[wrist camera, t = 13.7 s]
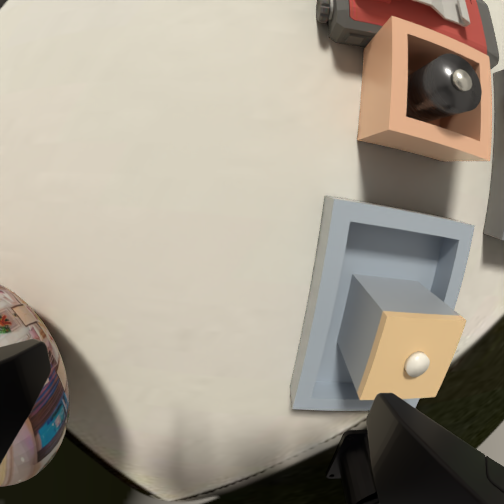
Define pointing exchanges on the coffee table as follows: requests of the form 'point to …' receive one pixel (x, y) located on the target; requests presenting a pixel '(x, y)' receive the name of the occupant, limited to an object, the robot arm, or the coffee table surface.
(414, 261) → the tray
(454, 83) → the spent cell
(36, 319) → the ornament
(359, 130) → the cup
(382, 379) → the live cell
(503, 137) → the checker frame
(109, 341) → the coffee table surface
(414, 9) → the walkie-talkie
